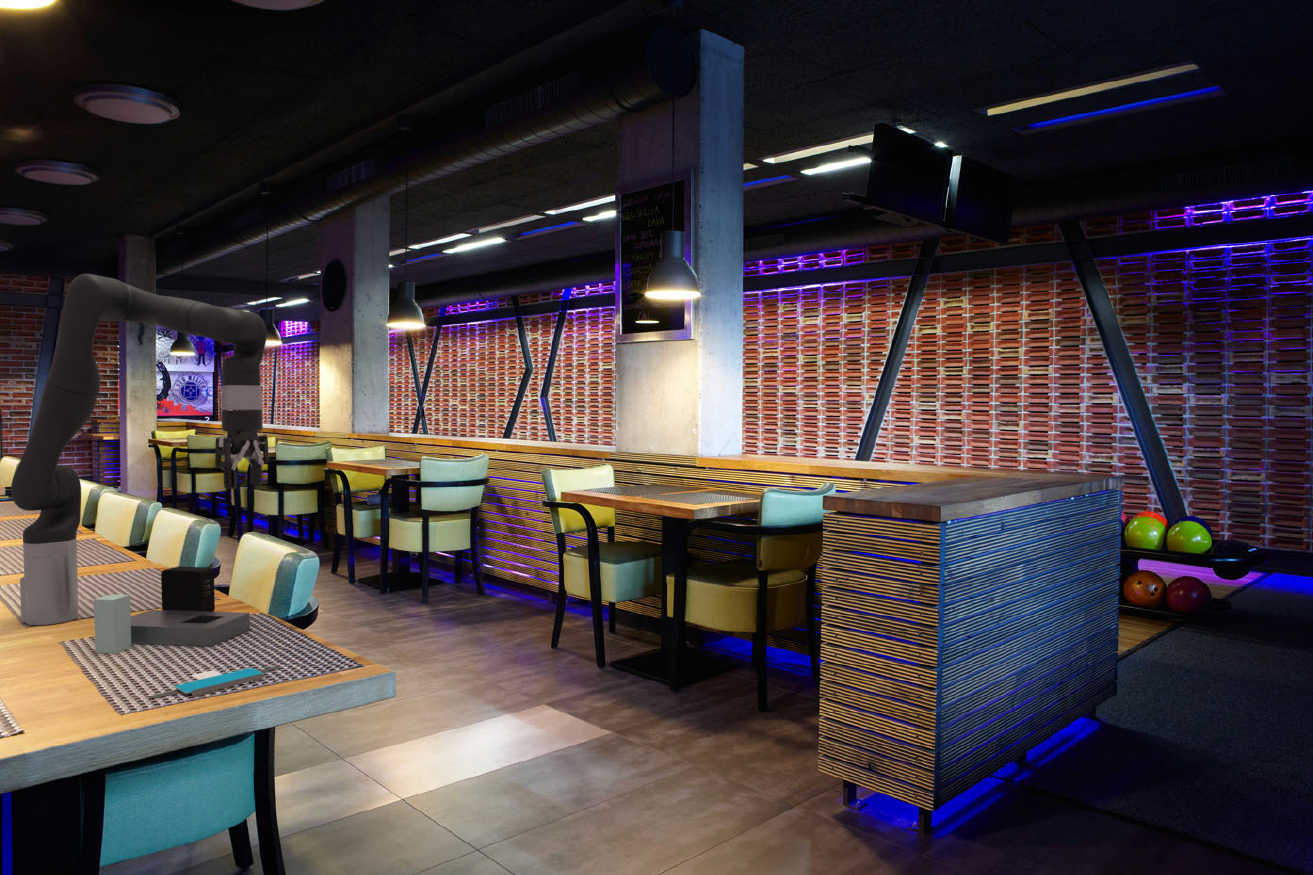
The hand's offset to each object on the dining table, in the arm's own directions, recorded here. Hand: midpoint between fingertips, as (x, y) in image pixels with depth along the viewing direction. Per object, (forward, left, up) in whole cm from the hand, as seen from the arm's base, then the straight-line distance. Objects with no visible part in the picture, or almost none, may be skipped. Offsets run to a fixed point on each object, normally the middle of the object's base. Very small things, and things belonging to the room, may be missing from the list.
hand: (243, 486), depth 169 cm
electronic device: (-20, +9, -29) cm, 37 cm away
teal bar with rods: (+16, -32, -30) cm, 47 cm away
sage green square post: (-15, -18, -29) cm, 37 cm away
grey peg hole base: (-9, -8, -29) cm, 32 cm away
